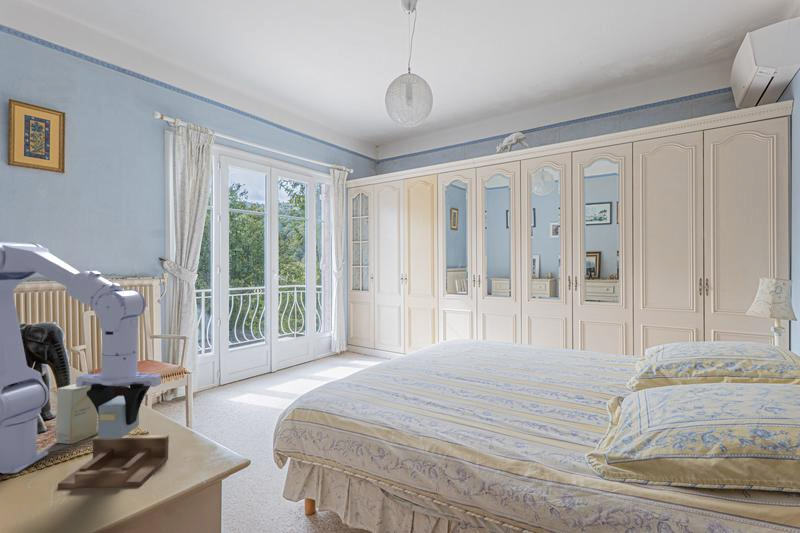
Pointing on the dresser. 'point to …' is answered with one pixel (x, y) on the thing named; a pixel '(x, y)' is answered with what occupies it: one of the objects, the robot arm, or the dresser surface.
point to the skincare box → (75, 414)
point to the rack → (120, 462)
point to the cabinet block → (114, 419)
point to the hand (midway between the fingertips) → (118, 423)
